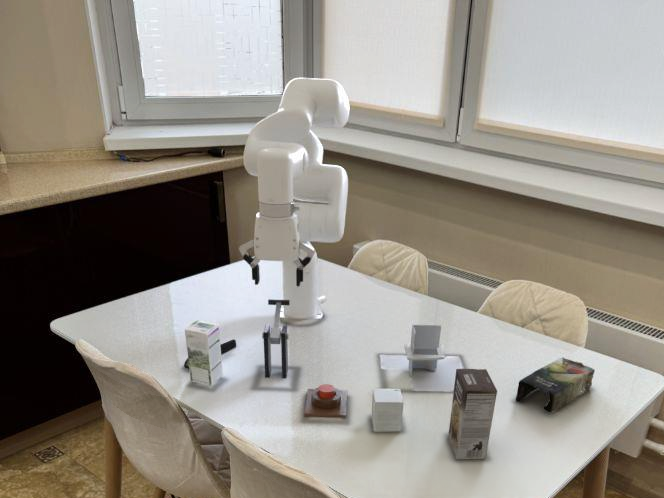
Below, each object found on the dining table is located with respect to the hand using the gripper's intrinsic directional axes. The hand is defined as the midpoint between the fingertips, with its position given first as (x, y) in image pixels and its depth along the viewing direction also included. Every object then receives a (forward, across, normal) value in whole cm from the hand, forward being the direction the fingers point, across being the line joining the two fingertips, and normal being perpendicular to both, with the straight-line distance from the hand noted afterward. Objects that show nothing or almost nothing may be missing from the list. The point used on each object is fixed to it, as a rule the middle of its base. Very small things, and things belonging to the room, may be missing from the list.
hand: (277, 283), depth 161 cm
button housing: (+21, -13, +22) cm, 33 cm away
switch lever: (+8, 0, +4) cm, 9 cm away
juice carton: (+21, -66, +12) cm, 70 cm away
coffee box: (+21, -42, +35) cm, 59 cm away
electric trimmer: (+21, +17, 0) cm, 27 cm away
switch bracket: (+20, 0, +8) cm, 22 cm away
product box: (+21, -26, +28) cm, 43 cm away
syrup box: (+21, +16, +12) cm, 29 cm away
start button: (+17, -13, +22) cm, 31 cm away
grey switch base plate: (+21, -36, +3) cm, 41 cm away
